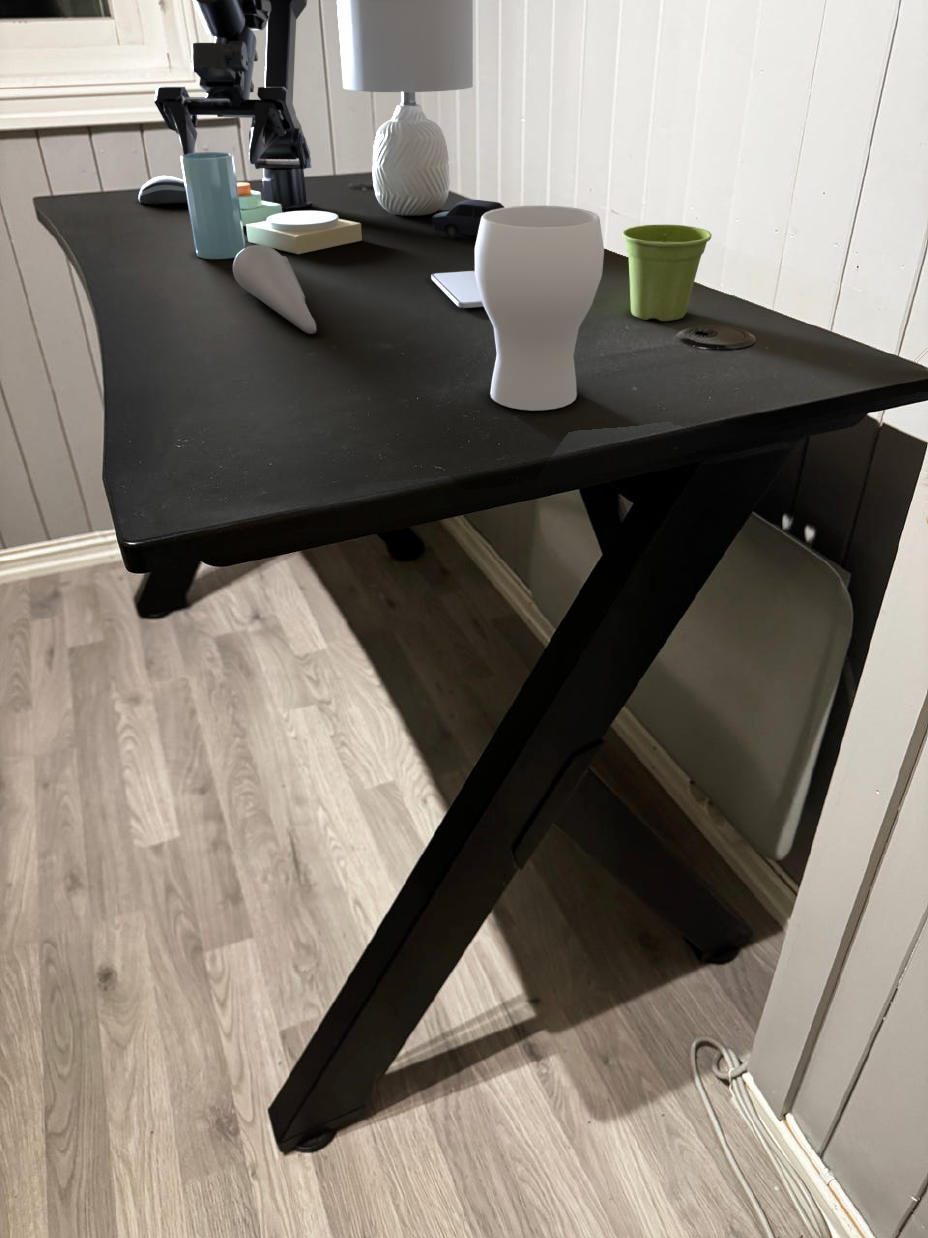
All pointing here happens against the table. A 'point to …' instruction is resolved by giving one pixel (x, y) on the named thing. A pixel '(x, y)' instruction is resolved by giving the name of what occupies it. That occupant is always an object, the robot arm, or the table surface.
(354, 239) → the scale
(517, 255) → the cup
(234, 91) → the robot arm
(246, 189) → the button
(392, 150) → the lamp
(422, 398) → the table surface
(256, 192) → the button box
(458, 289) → the smartphone
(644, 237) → the plant pot
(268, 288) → the long tapered cone
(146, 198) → the computer mouse
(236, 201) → the tumbler
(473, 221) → the toy car
